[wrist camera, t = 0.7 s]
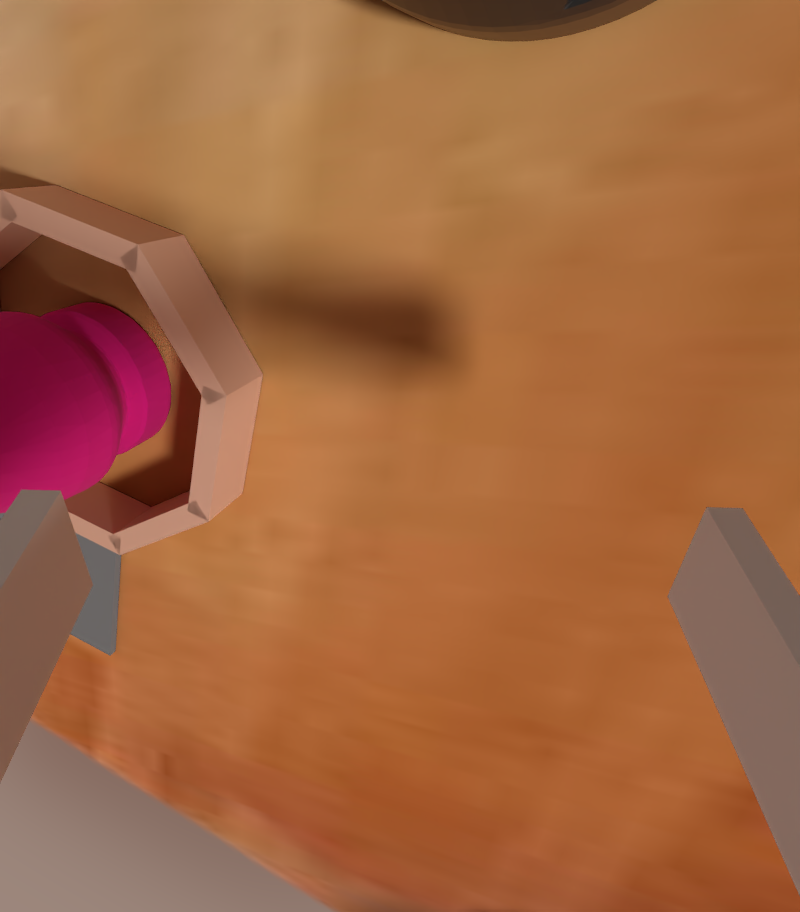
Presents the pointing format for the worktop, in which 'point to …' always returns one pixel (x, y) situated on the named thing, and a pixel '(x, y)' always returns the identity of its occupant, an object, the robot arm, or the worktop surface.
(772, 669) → the robot arm
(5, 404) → the pepper mill
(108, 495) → the octagonal frame ring
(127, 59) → the worktop surface
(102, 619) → the mat
